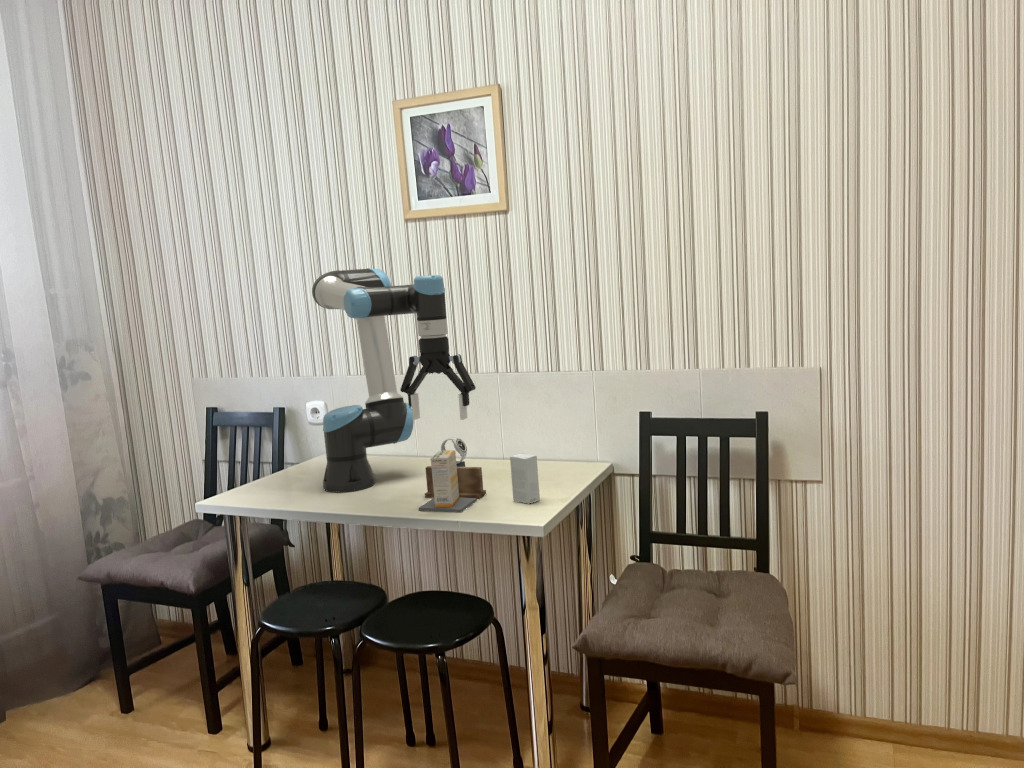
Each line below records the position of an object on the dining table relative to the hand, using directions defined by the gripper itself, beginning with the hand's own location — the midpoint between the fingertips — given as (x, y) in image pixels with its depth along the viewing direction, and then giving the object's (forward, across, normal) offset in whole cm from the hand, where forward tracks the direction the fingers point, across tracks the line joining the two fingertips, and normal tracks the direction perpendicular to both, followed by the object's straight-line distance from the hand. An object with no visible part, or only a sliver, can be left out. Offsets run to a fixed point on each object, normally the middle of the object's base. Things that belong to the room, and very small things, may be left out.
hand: (439, 418), depth 197 cm
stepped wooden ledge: (+23, -1, +8) cm, 24 cm away
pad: (+23, +1, -1) cm, 23 cm away
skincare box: (+23, +20, +6) cm, 31 cm away
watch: (+23, -12, +32) cm, 41 cm away
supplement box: (+22, +1, -1) cm, 22 cm away
